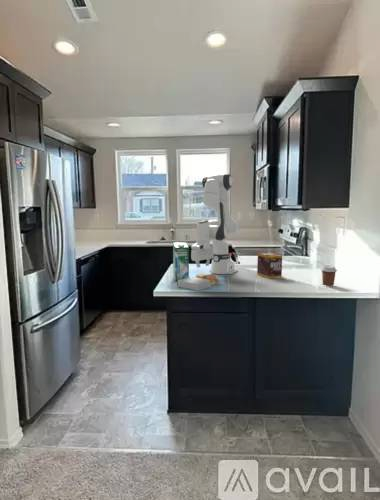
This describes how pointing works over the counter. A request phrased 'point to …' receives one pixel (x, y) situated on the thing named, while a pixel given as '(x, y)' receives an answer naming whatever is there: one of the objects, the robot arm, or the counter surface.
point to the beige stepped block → (205, 276)
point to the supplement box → (269, 265)
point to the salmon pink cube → (212, 276)
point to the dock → (194, 283)
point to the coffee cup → (328, 275)
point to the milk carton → (180, 261)
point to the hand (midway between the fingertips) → (202, 266)
